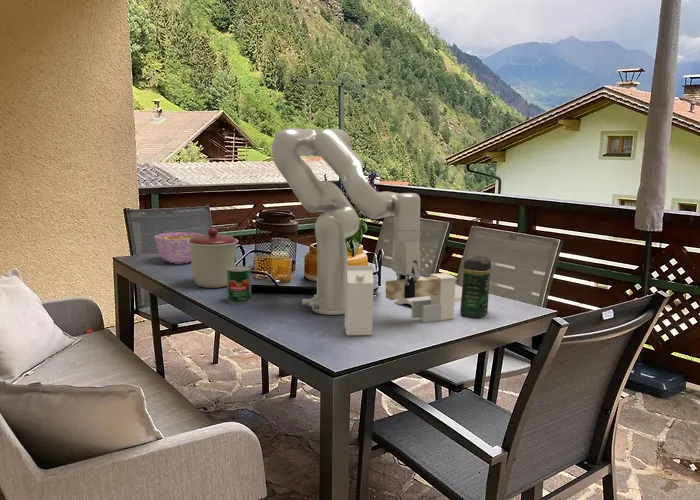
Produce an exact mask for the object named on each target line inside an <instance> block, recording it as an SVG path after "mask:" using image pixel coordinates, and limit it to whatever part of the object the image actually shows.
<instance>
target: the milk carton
mask: <svg viewBox="0 0 700 500" xmlns="http://www.w3.org/2000/svg"><path fill="white" fill-rule="evenodd" d="M373 267H374V266H373V265H347V272H346V289H345V314H344V330H345V333H346V334H345V335H346V336H372V335H373V318H374V317H373V313H374V310H373V309H374V285H375V284H374V274H373V273H374V272H373Z"/></svg>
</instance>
